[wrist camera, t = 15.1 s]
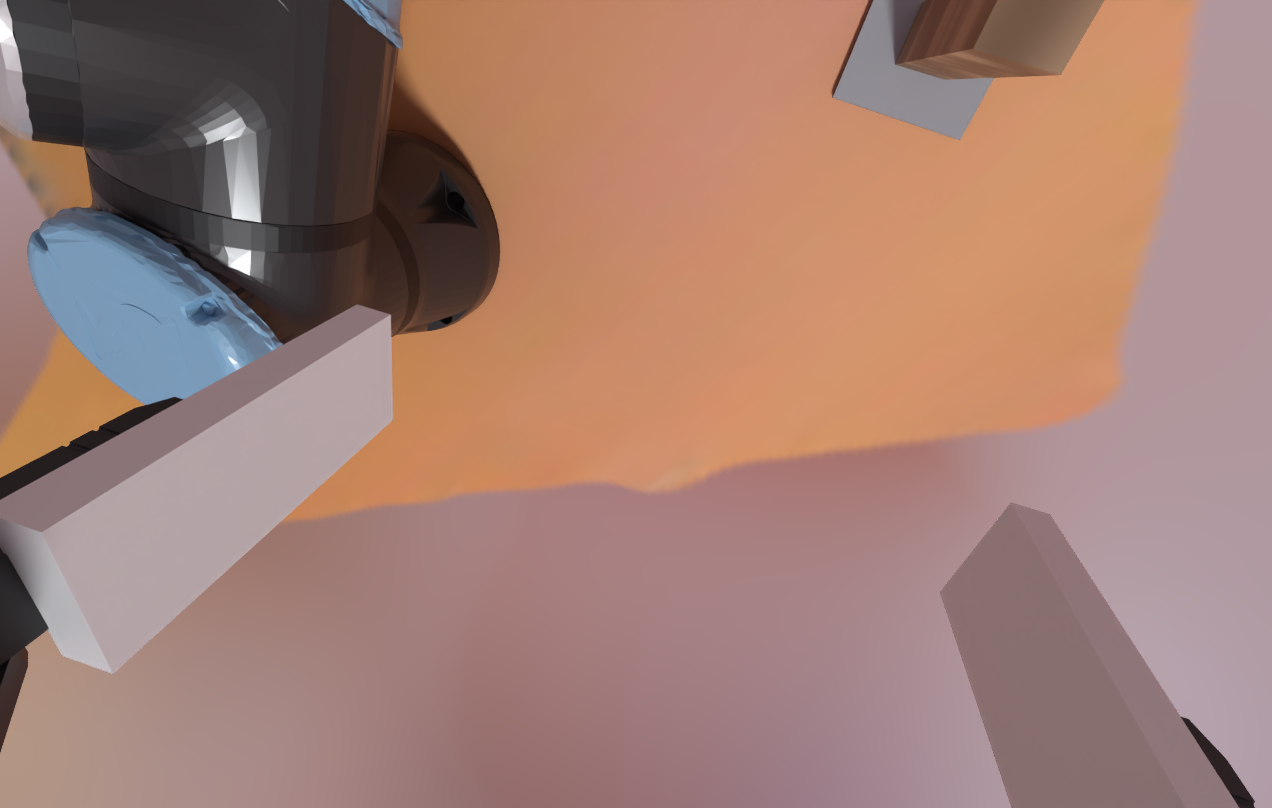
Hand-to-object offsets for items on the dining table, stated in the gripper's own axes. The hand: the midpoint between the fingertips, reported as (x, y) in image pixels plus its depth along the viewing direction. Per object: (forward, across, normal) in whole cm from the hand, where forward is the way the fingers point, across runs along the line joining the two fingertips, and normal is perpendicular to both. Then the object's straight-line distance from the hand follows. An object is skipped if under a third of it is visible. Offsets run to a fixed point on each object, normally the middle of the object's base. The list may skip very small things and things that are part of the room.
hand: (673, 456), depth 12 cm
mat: (+31, +8, +11) cm, 34 cm away
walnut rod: (+30, +8, +11) cm, 33 cm away
